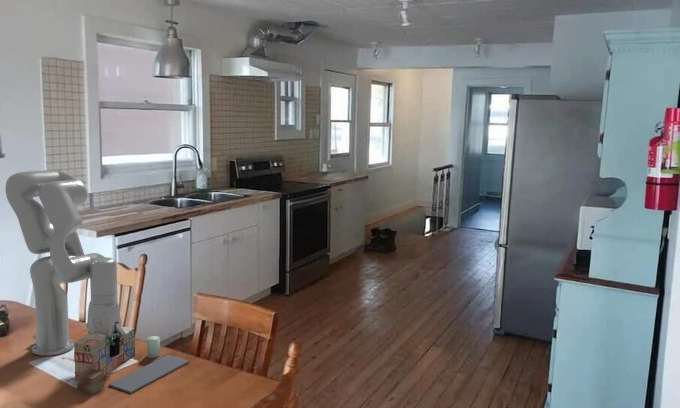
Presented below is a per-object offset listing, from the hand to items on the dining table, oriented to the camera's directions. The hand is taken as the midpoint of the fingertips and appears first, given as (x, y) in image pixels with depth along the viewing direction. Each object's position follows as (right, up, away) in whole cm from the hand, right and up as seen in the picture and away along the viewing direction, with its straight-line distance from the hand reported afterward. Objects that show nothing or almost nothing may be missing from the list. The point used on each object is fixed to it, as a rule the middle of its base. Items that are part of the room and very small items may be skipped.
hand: (105, 352), depth 171 cm
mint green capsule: (+11, -4, +11) cm, 16 cm away
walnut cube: (+1, -7, -13) cm, 15 cm away
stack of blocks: (0, -5, +1) cm, 5 cm away
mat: (+15, -6, -2) cm, 16 cm away
